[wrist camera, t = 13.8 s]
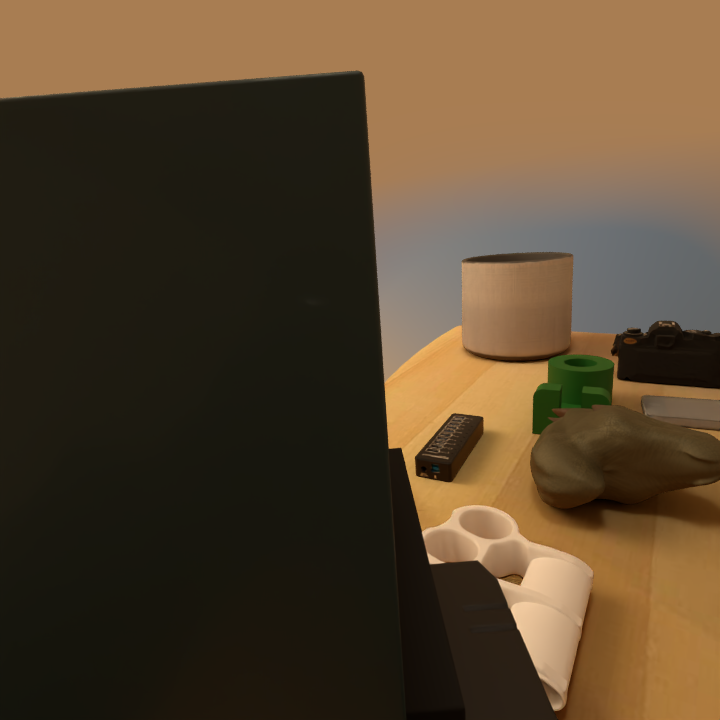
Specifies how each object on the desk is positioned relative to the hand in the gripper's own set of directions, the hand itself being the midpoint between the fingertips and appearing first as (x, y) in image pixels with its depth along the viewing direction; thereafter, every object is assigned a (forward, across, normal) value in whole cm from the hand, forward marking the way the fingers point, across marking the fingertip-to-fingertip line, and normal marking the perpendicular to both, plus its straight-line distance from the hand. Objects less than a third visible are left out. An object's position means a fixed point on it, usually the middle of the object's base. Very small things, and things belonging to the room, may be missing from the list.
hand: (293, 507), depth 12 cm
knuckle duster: (+19, +9, -22) cm, 31 cm away
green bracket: (+54, +33, -22) cm, 67 cm away
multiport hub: (+45, +13, -22) cm, 52 cm away
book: (-1, 0, -10) cm, 10 cm away
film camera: (+66, +54, -22) cm, 88 cm away
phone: (+49, +49, -22) cm, 73 cm away
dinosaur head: (+33, +28, -22) cm, 49 cm away
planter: (+91, +37, -22) cm, 101 cm away
